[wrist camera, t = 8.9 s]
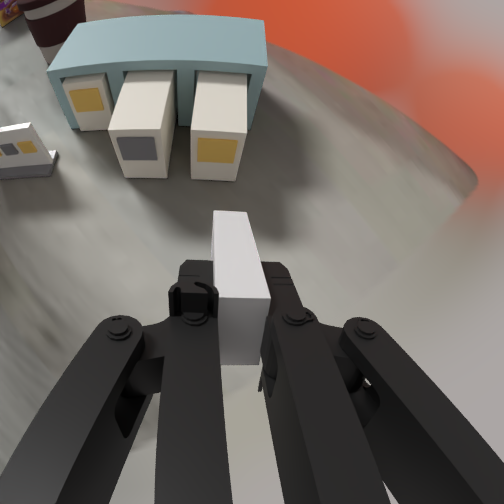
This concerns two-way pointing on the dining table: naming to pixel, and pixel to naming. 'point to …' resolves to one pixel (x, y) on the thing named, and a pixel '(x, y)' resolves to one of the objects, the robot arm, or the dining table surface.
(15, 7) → the candy box
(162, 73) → the middle button
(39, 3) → the coffee cup
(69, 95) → the button
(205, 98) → the button
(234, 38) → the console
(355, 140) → the dining table surface
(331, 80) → the dining table surface
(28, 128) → the card
